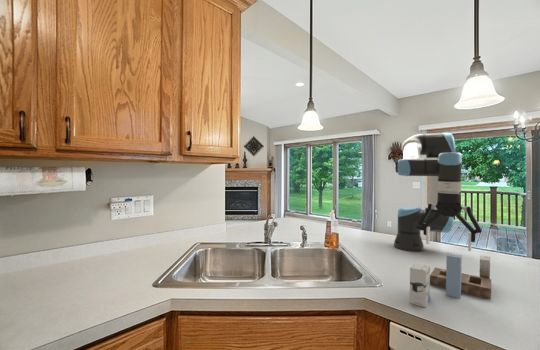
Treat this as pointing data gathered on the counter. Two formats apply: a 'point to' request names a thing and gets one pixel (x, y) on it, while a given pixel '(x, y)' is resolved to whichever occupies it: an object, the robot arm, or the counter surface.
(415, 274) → the ink box
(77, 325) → the counter surface
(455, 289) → the square bit
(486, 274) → the grey upright block
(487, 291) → the bit holder block
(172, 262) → the counter surface
